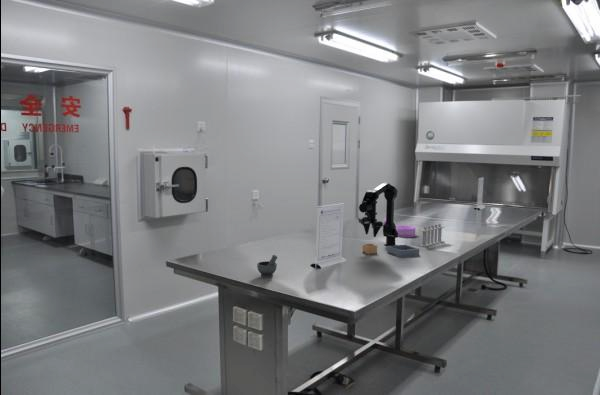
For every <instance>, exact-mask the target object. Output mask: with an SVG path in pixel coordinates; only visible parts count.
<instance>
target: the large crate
mask: <svg viewBox="0 0 600 395" xmlns="http://www.w3.org/2000/svg"><path fill="white" fill-rule="evenodd" d="M386 247H387V248H386V249H387V250H386V253H388V254H390V253H391V254H390V255H392V256H395V255H396V257H398V258H405V257H407V256H408V257H416V256H415V255H418V256H420V249H419V248H417V247H416V246H411V245H408V244H395V246H386Z"/></svg>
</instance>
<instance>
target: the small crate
mask: <svg viewBox="0 0 600 395" xmlns="http://www.w3.org/2000/svg"><path fill="white" fill-rule="evenodd" d="M362 253H364V254H366V255H375V254H377V253H378V245H377V244H374V243H364V244H363V243H362Z"/></svg>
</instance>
